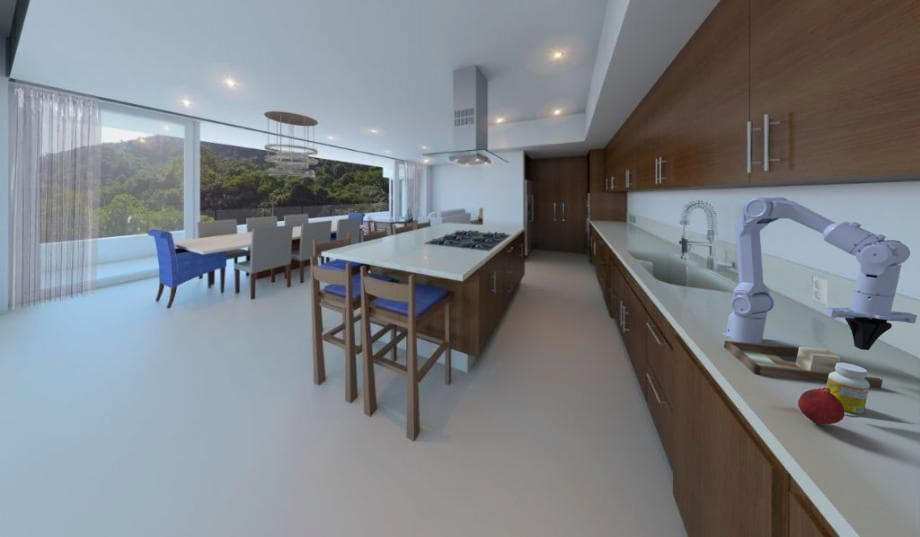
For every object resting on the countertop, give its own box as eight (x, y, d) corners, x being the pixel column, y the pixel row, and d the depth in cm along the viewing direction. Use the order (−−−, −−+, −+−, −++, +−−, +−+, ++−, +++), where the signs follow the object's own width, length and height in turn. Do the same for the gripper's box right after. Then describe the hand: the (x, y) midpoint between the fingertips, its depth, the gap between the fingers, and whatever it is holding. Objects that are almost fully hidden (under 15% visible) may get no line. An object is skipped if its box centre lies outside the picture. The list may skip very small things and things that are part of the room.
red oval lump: (803, 428, 60) (811, 390, 59) (790, 411, 65) (797, 375, 64) (847, 438, 58) (856, 398, 56) (830, 419, 63) (838, 382, 61)
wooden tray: (723, 350, 94) (725, 340, 93) (825, 360, 86) (827, 350, 86) (753, 377, 79) (755, 366, 78) (879, 392, 72) (882, 380, 71)
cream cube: (795, 364, 82) (799, 346, 82) (820, 367, 81) (824, 348, 80) (809, 374, 78) (813, 355, 77) (836, 377, 76) (840, 357, 75)
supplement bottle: (865, 422, 62) (877, 376, 60) (824, 411, 65) (834, 368, 64) (858, 408, 66) (868, 366, 64) (820, 399, 69) (828, 358, 68)
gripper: (846, 295, 72) (835, 351, 74) (937, 299, 67) (921, 359, 70) (823, 288, 78) (813, 339, 81) (904, 291, 74) (890, 346, 76)
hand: (861, 348), depth 76 cm, fingers closed
